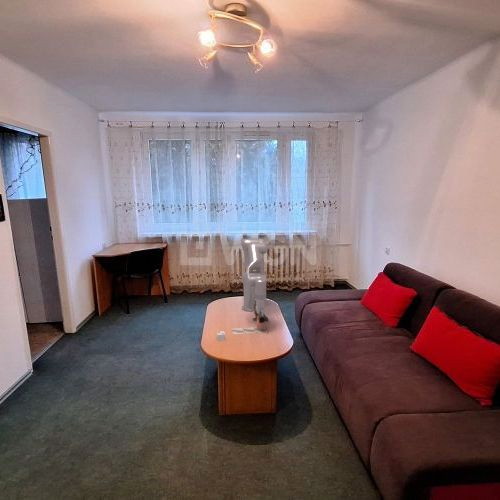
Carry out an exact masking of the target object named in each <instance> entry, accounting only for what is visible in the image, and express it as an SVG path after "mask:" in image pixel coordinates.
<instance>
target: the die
mask: <svg viewBox="0 0 500 500" xmlns="http://www.w3.org/2000/svg"><path fill="white" fill-rule="evenodd" d="M216 340H217V342H222V341H223V342H224V341H226V332H225V331H224V330H223V331H222V330H221V331H216Z"/></svg>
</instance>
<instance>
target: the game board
mask: <svg viewBox="0 0 500 500" xmlns="http://www.w3.org/2000/svg"><path fill="white" fill-rule="evenodd" d="M268 331H269V330H268V329H267V326H264V330H263V331H258V330H257V326H253V327H252V326H251V327H237V328H236V327H235V328H231V333H232V335H244V334H246V335H247V334H262V333H265V334H266V333H267V334H269V332H268Z"/></svg>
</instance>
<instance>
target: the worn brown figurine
mask: <svg viewBox="0 0 500 500" xmlns="http://www.w3.org/2000/svg"><path fill="white" fill-rule="evenodd" d="M253 313H254V318H252V321H253V322H257V312H256V299H255V304H254V311H253ZM264 322H265V323H267V322H269V317H268V316H267V314H265V313H264Z"/></svg>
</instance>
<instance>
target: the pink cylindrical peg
mask: <svg viewBox="0 0 500 500" xmlns="http://www.w3.org/2000/svg"><path fill="white" fill-rule="evenodd" d="M260 315H261V314H260ZM260 315H259V314H258V315H257V321H256V327H257V330H258V331H263V330H264V327H265V326H264V323H259V317H260Z"/></svg>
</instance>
